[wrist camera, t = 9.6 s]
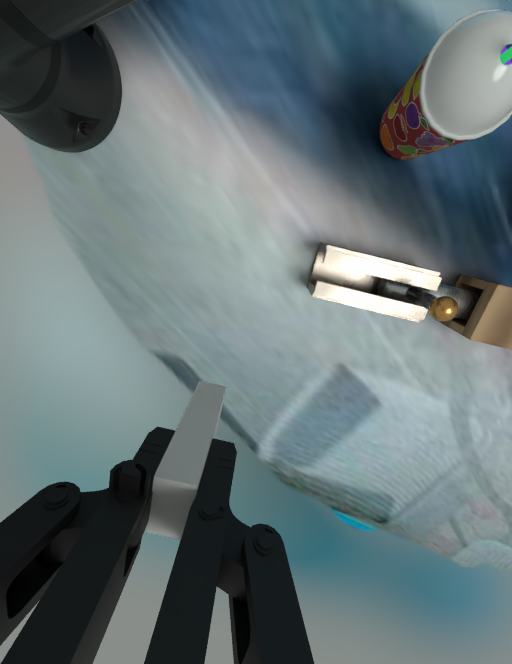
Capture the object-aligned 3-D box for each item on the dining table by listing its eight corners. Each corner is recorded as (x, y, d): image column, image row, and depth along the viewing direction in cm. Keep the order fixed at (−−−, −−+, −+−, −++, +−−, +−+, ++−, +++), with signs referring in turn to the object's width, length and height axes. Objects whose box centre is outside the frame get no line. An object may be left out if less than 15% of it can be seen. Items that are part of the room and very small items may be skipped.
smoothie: (452, 99, 35) (658, -46, 16) (422, 176, 38) (568, 128, 19) (384, 80, 35) (514, -90, 16) (359, 159, 38) (444, 93, 19)
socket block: (438, 321, 44) (469, 339, 37) (460, 274, 42) (498, 284, 35) (477, 330, 44) (516, 350, 37) (501, 284, 42) (547, 296, 35)
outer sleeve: (306, 287, 43) (312, 297, 37) (320, 242, 41) (328, 245, 35) (399, 309, 44) (421, 324, 37) (417, 266, 42) (444, 273, 35)
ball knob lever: (374, 295, 42) (413, 322, 30) (384, 268, 41) (429, 286, 29) (483, 322, 42) (563, 359, 31) (496, 296, 41) (586, 324, 29)
